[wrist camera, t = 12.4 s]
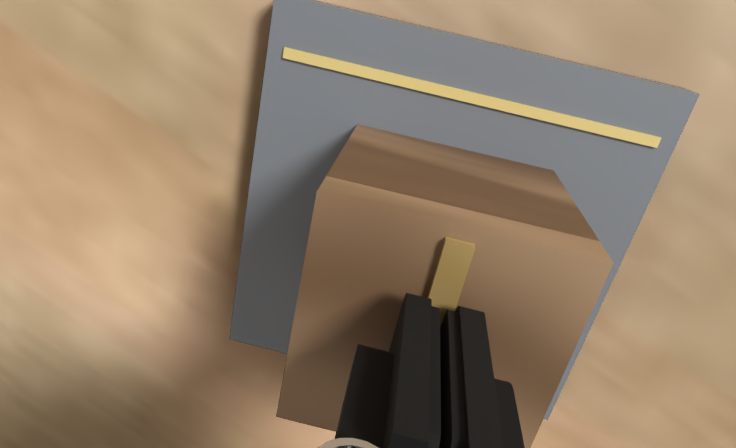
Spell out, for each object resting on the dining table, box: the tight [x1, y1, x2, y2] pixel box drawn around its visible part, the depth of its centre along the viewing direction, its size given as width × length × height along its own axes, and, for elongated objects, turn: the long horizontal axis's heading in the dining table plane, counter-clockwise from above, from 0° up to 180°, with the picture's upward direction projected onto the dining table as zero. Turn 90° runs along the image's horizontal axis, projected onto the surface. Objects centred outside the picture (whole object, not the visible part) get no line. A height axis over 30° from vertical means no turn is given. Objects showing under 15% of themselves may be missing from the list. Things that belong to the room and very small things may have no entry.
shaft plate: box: [229, 0, 699, 420], centre depth 16 cm, size 12×12×5 cm
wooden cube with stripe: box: [276, 124, 614, 448], centre depth 15 cm, size 6×6×6 cm
